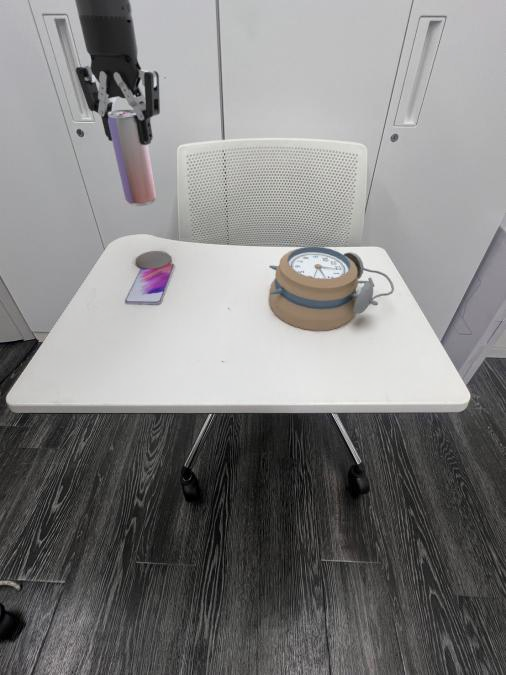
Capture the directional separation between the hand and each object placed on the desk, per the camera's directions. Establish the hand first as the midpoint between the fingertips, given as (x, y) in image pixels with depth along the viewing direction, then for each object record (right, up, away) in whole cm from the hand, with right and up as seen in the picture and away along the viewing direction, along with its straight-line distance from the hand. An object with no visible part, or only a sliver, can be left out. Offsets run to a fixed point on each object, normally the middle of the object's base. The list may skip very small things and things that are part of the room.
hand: (130, 141), depth 61 cm
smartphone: (+1, -24, +11) cm, 26 cm away
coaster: (-1, -18, +17) cm, 24 cm away
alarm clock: (+37, -29, +7) cm, 47 cm away
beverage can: (0, -8, +7) cm, 11 cm away
